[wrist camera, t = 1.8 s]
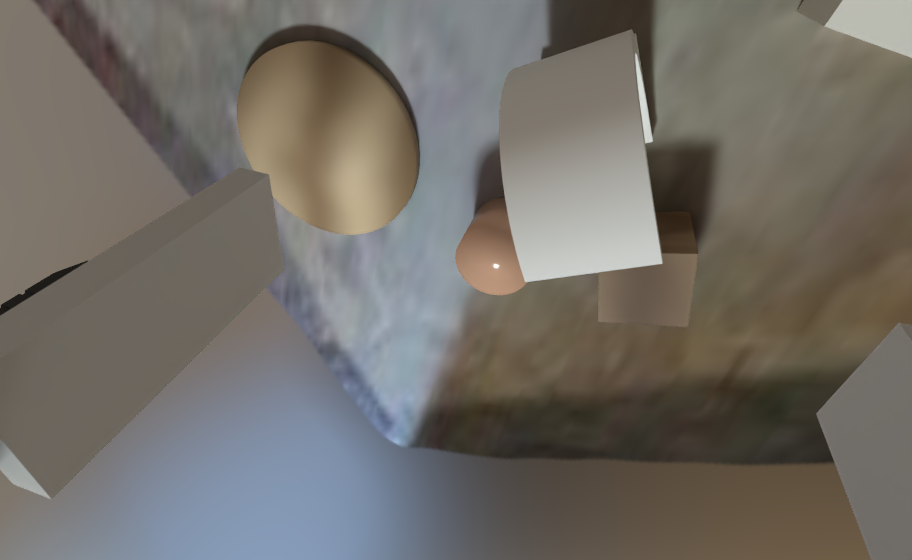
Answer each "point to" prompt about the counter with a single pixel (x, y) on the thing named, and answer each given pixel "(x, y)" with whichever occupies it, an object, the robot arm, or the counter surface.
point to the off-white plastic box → (866, 20)
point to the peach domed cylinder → (490, 251)
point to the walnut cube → (655, 280)
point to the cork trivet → (328, 136)
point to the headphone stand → (579, 162)
